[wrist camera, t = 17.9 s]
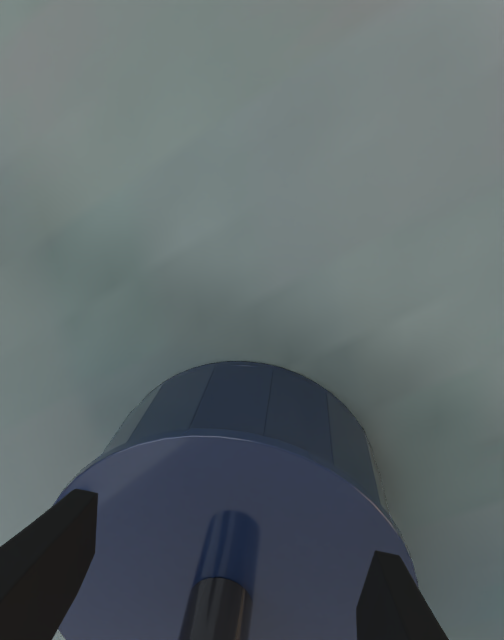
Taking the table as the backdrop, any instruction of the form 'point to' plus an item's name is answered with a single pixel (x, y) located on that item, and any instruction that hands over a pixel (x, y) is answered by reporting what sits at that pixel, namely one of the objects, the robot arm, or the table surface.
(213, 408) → the pot
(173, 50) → the table surface
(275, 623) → the lid
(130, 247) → the table surface
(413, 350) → the table surface
